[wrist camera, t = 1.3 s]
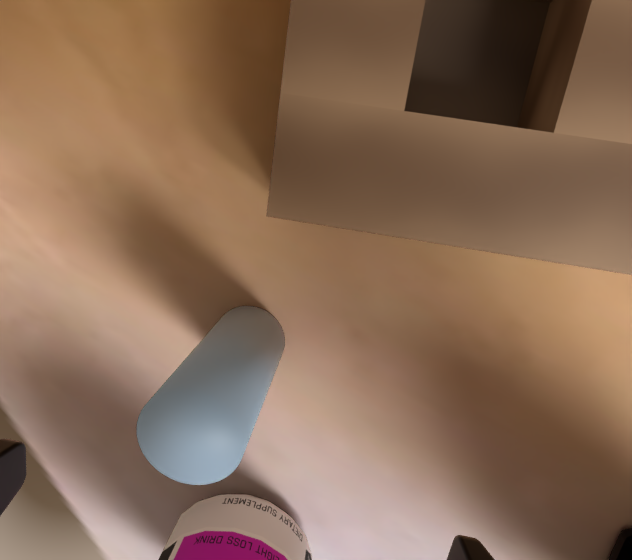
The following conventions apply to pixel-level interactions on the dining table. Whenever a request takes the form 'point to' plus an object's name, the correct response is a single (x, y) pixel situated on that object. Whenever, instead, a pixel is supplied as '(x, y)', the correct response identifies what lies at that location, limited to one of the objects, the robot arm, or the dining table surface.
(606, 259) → the bore block
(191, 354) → the pin
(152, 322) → the dining table surface
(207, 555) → the supplement can
